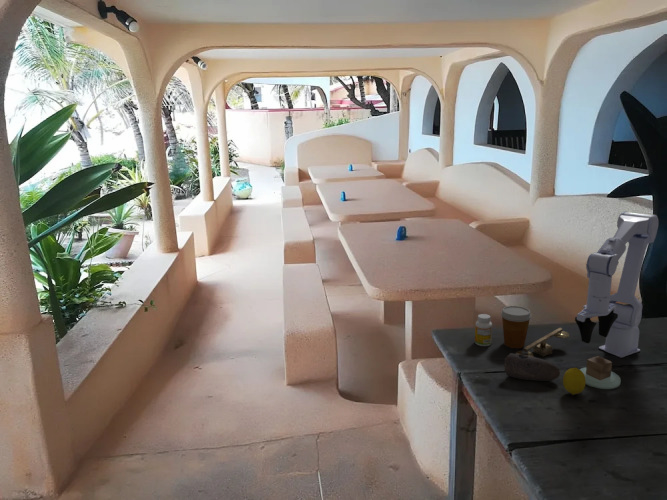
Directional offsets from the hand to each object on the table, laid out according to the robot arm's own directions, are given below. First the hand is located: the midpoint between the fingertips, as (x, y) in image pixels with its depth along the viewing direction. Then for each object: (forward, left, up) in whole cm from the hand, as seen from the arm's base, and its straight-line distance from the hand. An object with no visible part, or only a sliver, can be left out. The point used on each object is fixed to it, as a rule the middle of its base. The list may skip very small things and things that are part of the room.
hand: (594, 338), depth 151 cm
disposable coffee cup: (+5, -25, -11) cm, 27 cm away
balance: (+2, -16, -10) cm, 19 cm away
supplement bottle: (+13, -31, -11) cm, 35 cm away
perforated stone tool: (+18, -6, -11) cm, 22 cm away
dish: (+2, +4, -10) cm, 11 cm away
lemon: (+15, +6, -11) cm, 20 cm away
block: (+2, +4, -9) cm, 10 cm away
